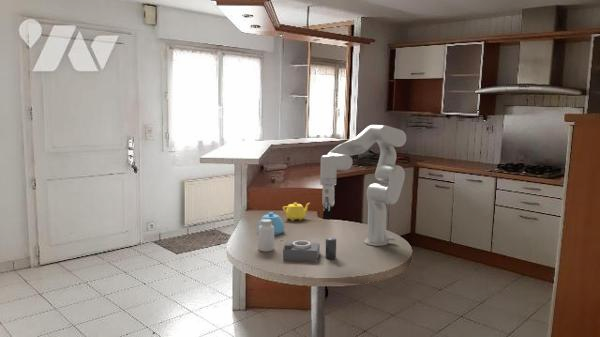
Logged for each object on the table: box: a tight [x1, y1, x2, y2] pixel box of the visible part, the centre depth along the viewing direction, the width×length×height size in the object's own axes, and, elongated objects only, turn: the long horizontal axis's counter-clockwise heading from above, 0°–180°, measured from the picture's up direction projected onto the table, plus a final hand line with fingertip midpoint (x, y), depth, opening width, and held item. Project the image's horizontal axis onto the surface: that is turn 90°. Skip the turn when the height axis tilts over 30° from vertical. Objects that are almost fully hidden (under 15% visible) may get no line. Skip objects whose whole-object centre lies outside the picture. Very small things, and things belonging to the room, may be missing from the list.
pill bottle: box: [257, 219, 275, 252], centre depth 232 cm, size 8×8×15 cm
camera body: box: [282, 240, 321, 262], centre depth 222 cm, size 16×12×7 cm
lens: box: [324, 237, 337, 260], centre depth 220 cm, size 5×5×9 cm
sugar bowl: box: [257, 211, 285, 236], centre depth 263 cm, size 15×15×12 cm
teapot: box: [282, 202, 311, 222], centre depth 294 cm, size 18×11×11 cm, turn 105°
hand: (327, 217), depth 220 cm, fingers open, 9 cm apart
